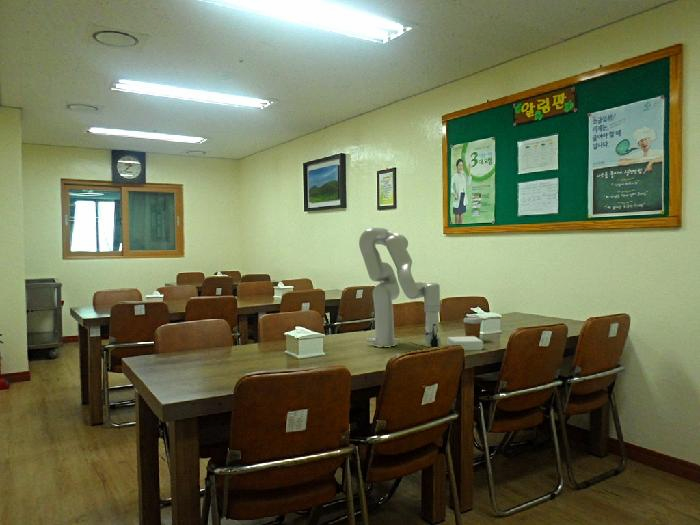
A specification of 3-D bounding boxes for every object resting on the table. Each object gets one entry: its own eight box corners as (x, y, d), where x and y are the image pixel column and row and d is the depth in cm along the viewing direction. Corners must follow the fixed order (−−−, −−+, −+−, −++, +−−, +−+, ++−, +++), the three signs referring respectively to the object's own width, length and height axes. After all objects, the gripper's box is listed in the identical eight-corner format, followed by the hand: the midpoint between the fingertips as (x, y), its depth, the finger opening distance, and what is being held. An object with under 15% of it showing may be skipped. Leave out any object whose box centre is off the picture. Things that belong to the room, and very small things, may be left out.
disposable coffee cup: (484, 342, 270) (483, 319, 270) (465, 343, 271) (464, 319, 270) (480, 339, 280) (479, 316, 279) (461, 339, 280) (461, 317, 280)
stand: (453, 350, 253) (453, 341, 253) (447, 345, 267) (447, 336, 267) (483, 349, 253) (482, 341, 253) (475, 344, 267) (474, 335, 267)
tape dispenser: (434, 351, 260) (420, 336, 261) (444, 343, 259) (431, 327, 260) (434, 354, 254) (420, 338, 255) (444, 345, 253) (430, 329, 254)
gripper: (421, 306, 265) (422, 342, 266) (427, 311, 248) (428, 349, 249) (436, 306, 266) (437, 342, 266) (443, 310, 248) (444, 349, 249)
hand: (432, 345), depth 257 cm, fingers closed on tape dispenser, 6 cm apart
